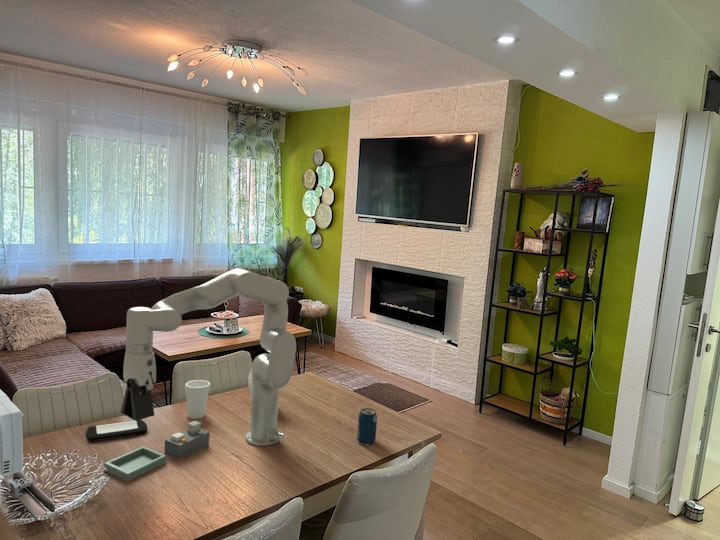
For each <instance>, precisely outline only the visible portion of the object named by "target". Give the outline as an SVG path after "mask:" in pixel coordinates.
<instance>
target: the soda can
mask: <svg viewBox="0 0 720 540" xmlns="http://www.w3.org/2000/svg"><path fill="white" fill-rule="evenodd" d="M357 419H358V421H357V422H358V423H357V433H356V434H357V435H356V440H357V441H359V442H360V443H363V444H372V443H373V444H374V443H375V441H376V436H377V423H378V415H377V411H376V410H375V409H373V408H365V407H364V408H362V409H361V410H360V412H359V414H358V418H357ZM359 442H358V443H359ZM360 443H359V444H360ZM373 444H372V445H373Z"/></svg>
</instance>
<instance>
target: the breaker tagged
mask: <svg viewBox="0 0 720 540" xmlns="http://www.w3.org/2000/svg"><path fill="white" fill-rule="evenodd" d="M170 437H171V440H173V441H176V442H179V441H181V440H182V439H183V438H185V435H184V434H182V433H181V432H176V433H174V434H171V436H170Z"/></svg>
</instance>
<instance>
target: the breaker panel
mask: <svg viewBox="0 0 720 540" xmlns="http://www.w3.org/2000/svg"><path fill="white" fill-rule="evenodd" d="M180 433H182V434H184V435H185V438H183V439H182V440H181V441H179V442H176V441H173V440H171V436H170V437H168V438H166V439H164V453H163V454H164V455H166V456H168V457H171V458H173V459H176V460H178V461H180V460H183V459H184V458H187V457H189V456H190V455H192V454H194V453H196V452H199V451H200V450H203V449H204V448H207V447H209V446H210V431H207V430H206V429H202V428H200V431H198V433H196V434H194V435H193V434H190V433H188V429H186V430H183V431H182V432H180Z"/></svg>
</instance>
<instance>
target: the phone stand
mask: <svg viewBox="0 0 720 540" xmlns="http://www.w3.org/2000/svg"><path fill="white" fill-rule="evenodd" d="M130 379H131V378H130ZM130 379H128V380H127V383H126V389H125V391H124V397H123V400H122V405H121V408H120V413H121V414H122V415H124V416H125V417H128V418H129V419H131V420H132V421H133V420H135V421H138V420H143V419H147V418H150V417H153V416H155V411H154V403H153V396H152V389H151V390H148V392H147V393H145V395H144V396H142V397H141V395H139V394H138V393H139V392H138V385H136V384H135V381H134V380H133V379H131V380H130ZM130 381H131V383H130ZM143 387H144V386H143ZM143 387H142V388H143ZM130 396H131V404H132V405H130Z"/></svg>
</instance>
